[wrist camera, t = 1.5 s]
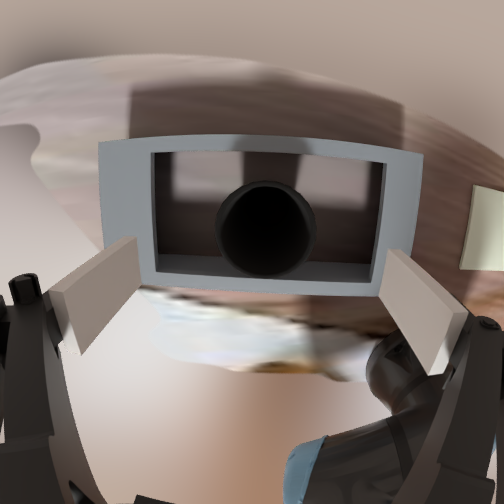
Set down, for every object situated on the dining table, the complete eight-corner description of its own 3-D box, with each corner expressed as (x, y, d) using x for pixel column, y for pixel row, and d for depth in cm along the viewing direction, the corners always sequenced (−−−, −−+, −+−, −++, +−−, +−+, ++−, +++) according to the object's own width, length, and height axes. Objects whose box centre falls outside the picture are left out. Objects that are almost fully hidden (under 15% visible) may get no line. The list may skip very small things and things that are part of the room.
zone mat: (506, 269, 33) (509, 270, 33) (458, 267, 34) (460, 269, 33) (521, 197, 30) (523, 198, 29) (473, 184, 30) (475, 185, 30)
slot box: (380, 271, 35) (401, 296, 28) (134, 259, 36) (109, 280, 30) (395, 153, 30) (423, 154, 24) (128, 142, 32) (98, 142, 25)
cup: (269, 250, 35) (268, 297, 24) (220, 208, 34) (194, 236, 22) (314, 202, 33) (337, 228, 21) (264, 157, 32) (260, 159, 20)
